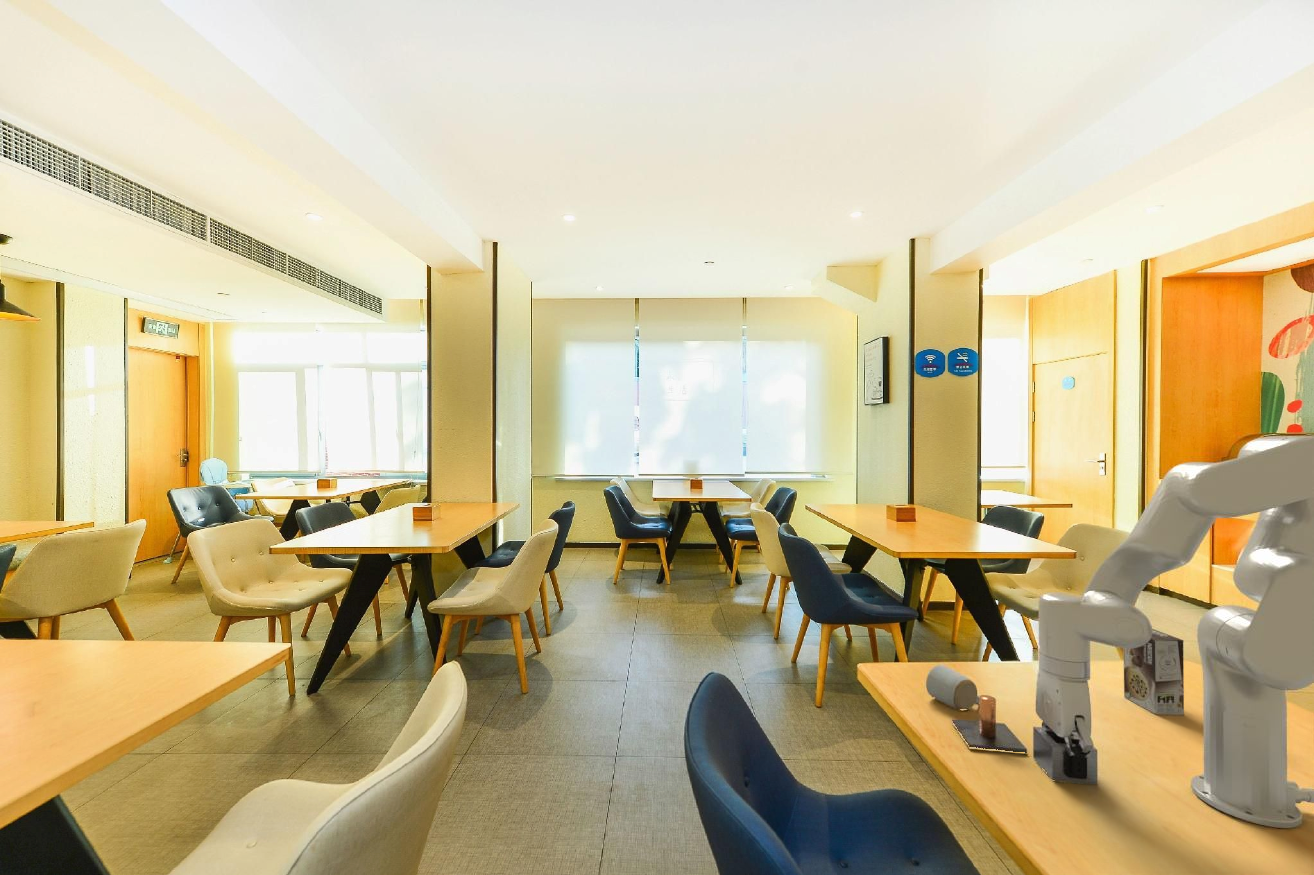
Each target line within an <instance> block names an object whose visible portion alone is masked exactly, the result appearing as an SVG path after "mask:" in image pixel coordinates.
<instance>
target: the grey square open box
mask: <svg viewBox="0 0 1314 875" xmlns="http://www.w3.org/2000/svg"><path fill="white" fill-rule="evenodd" d="M1032 728H1033V729H1032V730H1033V733H1032V734H1033V740H1032V741H1033V743H1032V744H1033V747H1032V748H1033V749H1032V750H1033V756H1032V758H1034V759H1035V760H1034V759H1033V760H1034V762H1035V761H1037V763H1038V764H1039V765H1040V766H1041V767H1042V768H1043V769H1044V770H1045V772H1047V774H1048V775H1049V776H1050V777H1051V779H1052V780H1055V781H1054V782H1058V781H1062V782H1061V783H1070V784H1072V783H1073V784H1081V785H1091V786H1092V785H1093V786H1098V749H1097V748H1096V747H1095V746H1093V748H1092V749H1091V751H1090V753H1089V757H1088V758H1087V779H1076V778H1068V777H1067V776H1066V775H1065V753H1068V752H1067V747H1066V742H1065V738H1062V737H1059V736H1058V735H1057V734H1056V733H1055V732H1054V731H1053V730H1052V729H1050V728H1045V727H1042V726H1032ZM1071 735H1074V736H1079V735H1078V733H1077V732H1072V733H1071ZM1071 740H1072V739H1071ZM1076 744H1079V740H1072V745H1073V747H1074V746H1075V745H1076ZM1037 763H1036V764H1037ZM1038 764H1037V765H1038ZM1039 765H1038V766H1039ZM1040 766H1039V767H1040ZM1041 767H1040V768H1041ZM1042 768H1041V769H1042ZM1045 772H1044V773H1045ZM1047 774H1046V775H1047ZM1048 775H1047V776H1048ZM1049 776H1048V777H1049ZM1051 779H1050V780H1051ZM1052 780H1051V781H1052Z"/></svg>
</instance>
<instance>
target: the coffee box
mask: <svg viewBox="0 0 1314 875" xmlns="http://www.w3.org/2000/svg"><path fill="white" fill-rule="evenodd" d="M1122 650H1123V651H1122V652H1123V653H1122V654H1123V697H1124V699H1127V700H1128V701H1131V702H1132V703H1133V704H1137V705H1138V706H1140V707H1142V708H1143V709H1145V710H1147V711H1149V712H1151V713H1153V714H1155V715H1161V716H1162V715H1164V716H1167V715H1170V716H1171V715H1173V716H1184V714H1185V710H1184V709H1185V704H1184V703H1185V702H1184V701H1185V699H1184V698H1185V687H1184V686H1185V685H1184V682H1185V681H1184V679H1185V678H1184V677H1185V676H1184V675H1185V674H1184V666H1185V665H1184V639H1181V638H1179V637H1175V636H1174V635H1173V636H1172V635H1171V634H1167V633H1165V632H1162V631H1159V630H1157V629H1154V628H1152V636H1151V638H1150V640H1149V641H1148V642H1147V643H1146V644H1144V645H1143V646H1140V647H1137V648H1122Z"/></svg>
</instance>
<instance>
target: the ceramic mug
mask: <svg viewBox="0 0 1314 875" xmlns="http://www.w3.org/2000/svg"><path fill="white" fill-rule="evenodd" d="M925 686H926V691H927V693H928V695H929V696H930V695H931V696H930V697H932V698H933V697H935V698H936V700H937V699H938V701H939V700H940V701H939V702H941V701H942V702H941V703H943V702H944V703H943V704H945V703H946V705H947V704H948V705H947V706H949V705H950V706H949V707H951V706H952V707H951V708H953V707H954V708H953V709H955V708H956V709H955V710H957V709H968V710H970V709H971V708H972V707H973V706H975V704H977V703H978V704H979V696H980V695H978V689H977V686H976V684H975V682H974V681H972V679H970V678H968V677H967V676H966V675H963V674H961V673H960V672H958V671H955V669H952V668H950V667H948V666H947V665H945V664H938V665H934V666H933V667H932V668H931V669H930V670H929V672H928V674H927V676H926V682H925ZM935 698H934V699H935ZM969 708H970V709H969Z"/></svg>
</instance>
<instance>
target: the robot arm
mask: <svg viewBox="0 0 1314 875" xmlns="http://www.w3.org/2000/svg"><path fill="white" fill-rule="evenodd" d="M1256 513H1259V515H1258V517H1257V520H1256V523H1255V526H1254V528H1253V530H1252V532H1251V534H1250V536H1249V538H1248V541H1247V542H1246V544H1245V547H1244V549H1243V551H1242V553H1241V555H1240V556H1239V559H1238V560H1237V563H1236V565H1235V567H1234V570H1233V575H1232V576H1233V577H1232V579H1233V583H1234V585H1235V587H1236V589H1237V590H1238V591H1239V592H1240V593H1241V594H1243V596H1245V597H1247V598H1248V599H1250V600H1252V601H1254V602H1256V603H1258V607H1257V608H1256V610H1254V609H1251V608H1248V607H1247V606H1246V607H1245V606H1240V605H1233V604H1229V605H1228V604H1227V605H1219V606H1216V607H1212V608H1211V609H1209V610H1208V611H1206V612H1204V614H1203V615H1202V616H1201V618H1200V619H1199V621H1198V625H1197V630H1196V631H1197V632H1196V633H1197V634H1196V636H1197V637H1196V638H1197V644H1198V649H1199V656H1200V662H1201V667H1202V678H1203V679H1202V682H1203V683H1202V684H1203V685H1202V686H1203V687H1202V688H1203V689H1202V690H1203V693H1202V694H1203V701H1202V702H1203V705H1202V706H1203V707H1202V708H1203V709H1202V710H1203V714H1202V715H1203V774H1199V775H1195V776H1194V777H1192V778H1191V779H1190V787H1191V790H1192V791H1193V793H1194V794H1195V795H1196V796H1197V797H1198V798H1199V799H1201V800H1202V801H1203V802H1205V803H1206V804H1207V805H1209V806H1211V807H1213V808H1215V809H1216V810H1218V811H1221V812H1223V813H1225V814H1227V815H1230V816H1233V817H1235V818H1237V819H1240V820H1242V821H1247V822H1248V823H1249V822H1250V823H1253V824H1258V825H1261V826H1266V827H1271V828H1279V829H1280V828H1281V829H1289V828H1290V829H1292V828H1297V827H1299V826H1301V825H1302V823H1303V814H1302V812H1301V810H1300V808H1299V807H1297V806H1296V804H1301V803H1302V802H1306V803H1311V804H1314V788H1305V787H1304V788H1299V785H1298V783H1297V782H1296V781H1291V780H1288V734H1287V733H1288V732H1287V731H1288V730H1287V729H1288V727H1287V724H1288V719H1287V718H1288V707H1287V704H1288V703H1287V694H1286V691H1298V690H1302V689H1304V688H1307V687H1310V686H1311V685H1313V684H1314V435H1271V436H1270V435H1268V436H1263V437H1258V438H1255V439H1252V440H1250V441H1248V442H1247V443H1245V444H1244V445H1243V446H1242V447H1241V449H1239V452H1238V455H1237V458H1232V459H1228V460H1225V461H1220V462H1207V461H1206V462H1203V461H1199V462H1198V461H1191V462H1183V463H1180V464H1177V465H1176V466H1173V467H1172V468H1170V469H1169V470H1168V471H1167V473H1166V474H1165V475H1164V476H1163V478H1162V479H1161V482H1160V483H1159V484H1158V486H1157V488H1156V489H1155V492H1154V493H1153V494H1152V497H1151V499H1150V500H1149V502H1148V504H1147V505H1146V506H1145V509H1144V510H1143V512H1142V514H1141V515H1140V517H1139V519H1138V520H1137V522H1136V523H1135V526H1134V527H1133V529H1132V530H1131V532H1130V533H1129V535H1128V537H1127V538H1126V539H1125V540H1124V541H1122V542H1121V543H1120V544H1119V545H1118V546H1117V547H1116V548H1115V550H1113V551H1112V552H1111V553H1110V554H1109V555H1108V556H1107V557H1106V558H1105V559H1104V560H1103V561H1102V563H1101V564H1100V565H1099V566H1098V568H1097V569H1096V570H1095V572H1094V574H1093V576H1092V577H1091V579H1090V580H1089V582H1088V583H1087V586H1086V588H1085V589H1084V591H1083V592H1082V595H1081V597H1080V596H1078V595H1074V594H1069V593H1063V592H1048V593H1044V594H1042V595H1041V596H1040V597H1039V599H1038V671H1037V678H1036V690H1035V714H1036V715H1037V717H1038V718H1039V719H1040V720H1041V721H1042V723H1041V727H1045V728H1050V729H1052V730H1053V731H1054V732H1055V733H1056V734H1057V735H1058V736H1059V737H1062V738H1065V742H1066V747H1067V752H1068V753H1065V775H1066V776H1067V777H1068V778H1076V779H1087V758H1088V757H1089V753H1090V751H1091V749H1092V748H1093V746H1094V745H1095V744H1094V741H1093V738H1092V737H1091V736H1092V707H1091V696H1090V687H1089V682H1088V681H1090V679H1091V642H1093V643H1098V644H1102V645H1107V646H1111V647H1115V648H1119V649H1123V648H1137V647H1140V646H1143V645H1144V644H1146V643H1147V642H1148V641H1149V640H1150V638H1151V636H1152V629H1153V627H1152V626H1153V625H1152V624H1151V621H1150V620H1149V617H1147V615H1146V614H1144V612H1142V610H1140V609H1139V608H1138V607H1136V606H1134V604H1135V602H1136V600H1137V599H1138V598H1139V596H1140V595H1141V593H1142V591H1143V590H1144V589H1145V587H1146V586H1147V585H1148V584H1150V583H1151V582H1152V581H1153V580H1154V579H1155V578H1157V577H1159V576H1160V575H1162V574H1164V573H1166V572H1170V571H1172V570H1176V569H1179V568H1181V567H1183V566H1186V565H1187V564H1189V563H1190V562H1191V561H1192V559H1193V558H1194V556H1195V554H1196V552H1197V550H1198V549H1199V547H1200V545H1201V544H1202V542H1203V540H1204V539H1205V537H1206V536H1207V534H1208V533H1209V531H1210V529H1211V528H1212V526H1213V524H1214V523H1215V521H1216V520H1217V519H1228V518H1229V519H1230V518H1231V519H1232V518H1238V517H1243V516H1248V515H1253V514H1256ZM1072 732H1077V733H1078V735H1079V736H1074V735H1071V733H1072ZM1071 739H1072V740H1079V744H1076V745H1075V746H1074V747H1073V745H1072V740H1071ZM1094 747H1095V746H1094Z"/></svg>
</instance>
